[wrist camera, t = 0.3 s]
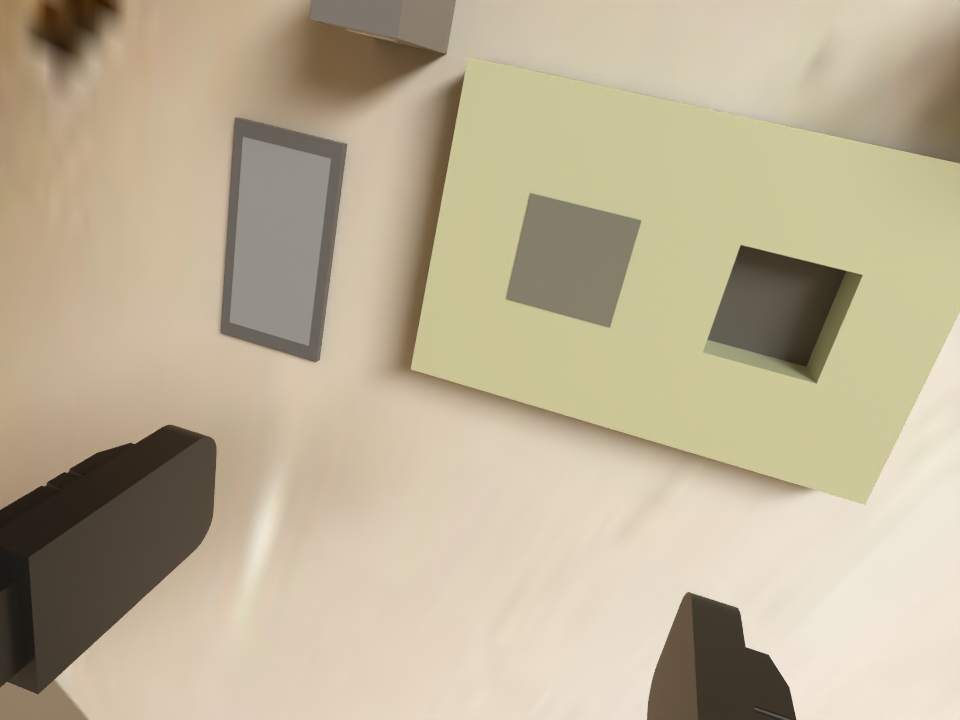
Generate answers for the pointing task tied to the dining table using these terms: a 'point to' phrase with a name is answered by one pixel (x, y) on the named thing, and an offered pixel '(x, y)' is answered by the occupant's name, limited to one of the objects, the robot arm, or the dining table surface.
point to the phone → (281, 236)
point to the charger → (391, 20)
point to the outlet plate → (690, 275)
